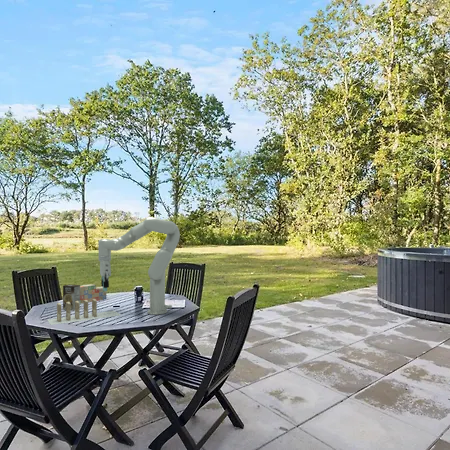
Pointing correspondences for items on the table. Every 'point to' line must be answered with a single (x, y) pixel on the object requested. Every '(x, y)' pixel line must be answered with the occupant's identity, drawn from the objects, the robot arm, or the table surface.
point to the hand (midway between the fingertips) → (105, 286)
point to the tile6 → (59, 312)
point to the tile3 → (85, 308)
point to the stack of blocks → (91, 293)
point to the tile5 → (68, 311)
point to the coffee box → (71, 295)
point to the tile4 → (77, 309)
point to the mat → (73, 319)
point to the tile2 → (94, 308)
